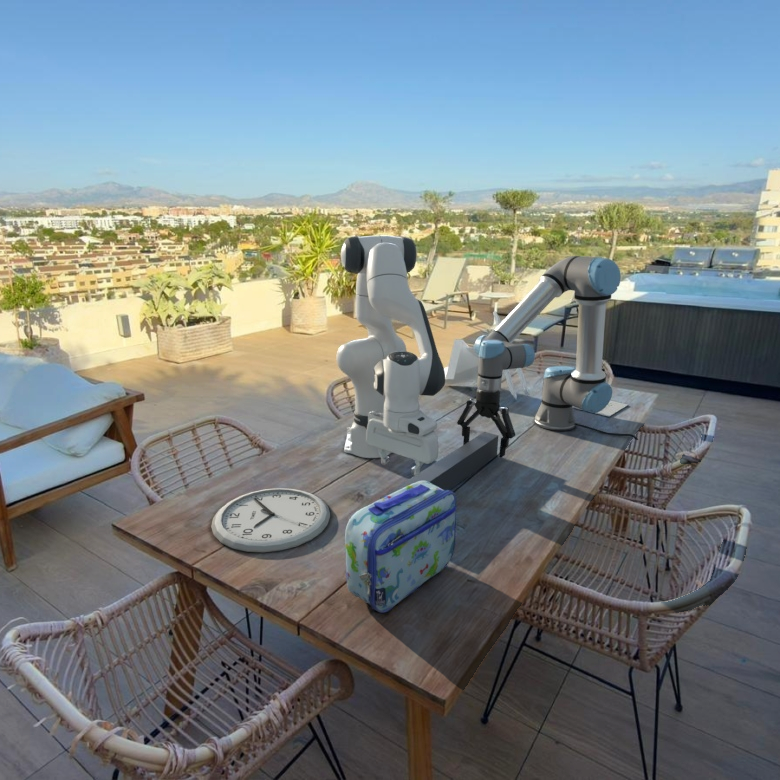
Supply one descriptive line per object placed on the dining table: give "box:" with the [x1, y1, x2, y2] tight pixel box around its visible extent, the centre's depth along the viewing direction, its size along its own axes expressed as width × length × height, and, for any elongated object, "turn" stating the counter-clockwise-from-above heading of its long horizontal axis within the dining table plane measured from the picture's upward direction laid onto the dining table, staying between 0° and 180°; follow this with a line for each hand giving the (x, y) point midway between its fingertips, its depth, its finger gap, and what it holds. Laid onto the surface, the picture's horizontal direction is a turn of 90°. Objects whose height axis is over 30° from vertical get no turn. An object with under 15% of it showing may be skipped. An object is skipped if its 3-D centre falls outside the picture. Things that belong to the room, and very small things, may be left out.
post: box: [379, 431, 499, 500], centre depth 154 cm, size 58×5×7 cm, turn 143°
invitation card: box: [573, 400, 629, 418], centre depth 226 cm, size 21×1×15 cm
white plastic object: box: [444, 310, 531, 400], centre depth 245 cm, size 37×45×31 cm
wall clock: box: [210, 487, 331, 553], centre depth 136 cm, size 30×2×30 cm
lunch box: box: [344, 481, 457, 614], centre depth 109 cm, size 26×11×21 cm, turn 135°
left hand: (400, 469), depth 133 cm, fingers open, 8 cm apart
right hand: (483, 450), depth 173 cm, fingers open, 12 cm apart
